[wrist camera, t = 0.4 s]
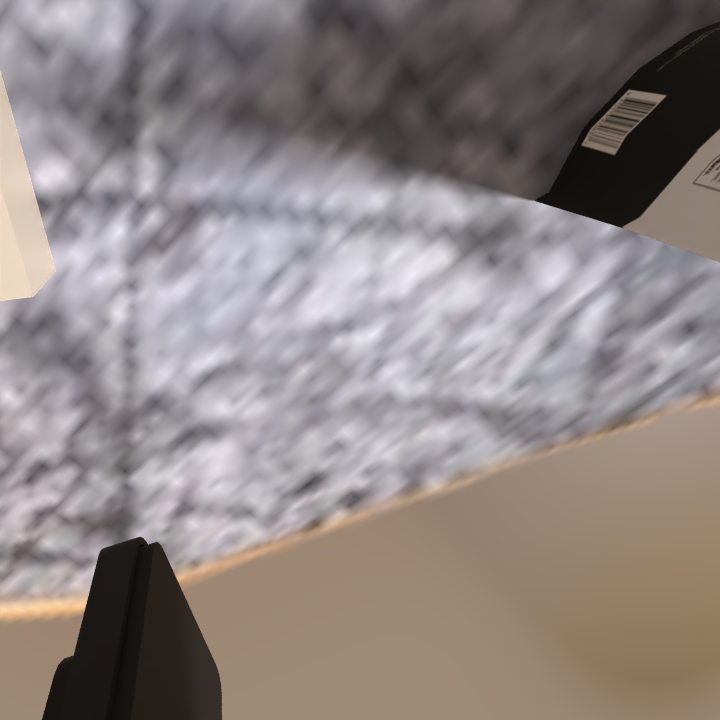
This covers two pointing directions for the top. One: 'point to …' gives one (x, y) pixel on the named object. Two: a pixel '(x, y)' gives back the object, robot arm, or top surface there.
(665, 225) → the protein powder
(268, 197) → the top surface
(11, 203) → the socket
